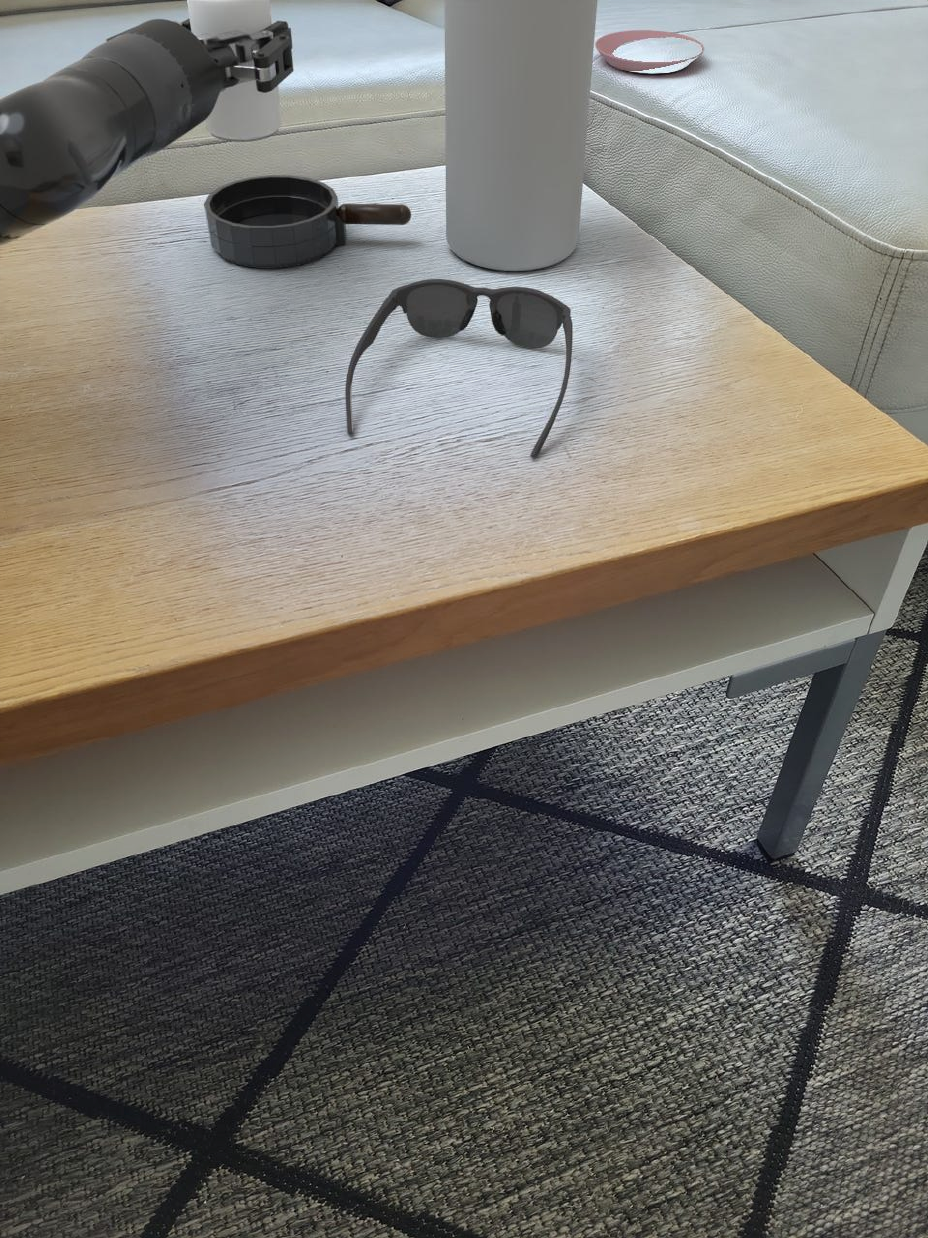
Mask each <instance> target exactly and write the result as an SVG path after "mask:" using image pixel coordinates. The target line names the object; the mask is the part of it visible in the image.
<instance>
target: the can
mask: <svg viewBox="0 0 928 1238" xmlns="http://www.w3.org/2000/svg"><path fill="white" fill-rule="evenodd" d="M186 2H187V4H186V5H187V10H188V19H189V18H190V25H191V32H192V33H193V34H194V35H195V36H196V35H200V34H204V33H209V34H211V35H217V34H221V33H225V32H230V31H234V30H240V31H242V32H245V33H248V34H253V33H257V32H260V31H262V30H263V29H265V28H267V27H268V26H270V25H272V24H273V22H272V14H271V5H270V4H271V3H270V0H186ZM229 45H230V47H231V48H232V50H233V52H234V53H235V55H236V48H235V43H233V44H229ZM253 50H258V51H259V44H257V45H254V46H253V47H252V51H253ZM252 53H253V52H252ZM236 57H237V56H236ZM280 99H281V98H280V90H279V85H278V86H277V87H275V88H274V89H273V90H272V91H270V92H267V93H263V92H259V91H257V86H256V80H252V81H248V82H244V83H240V84H236V85H235V86H232V87H229V88H226V89H225V90H224V91H223V92H220V94H219V96H218V99H217V101H216V104H215V106H214V109H213V110H212V112H211V114H210V115H209V116H208V118H207V119H206V120H204V123H205V127H206V128H205V129H206V130H207V131H208V132H209V134H210V135H211V136H212V137H213V138H215V139H218V140H222V141H225V142H226V141H227V142H234V143H247V142H248V143H249V142H255V141H262V140H265V139H269V138H271V137H273V136H275V135H276V134H277V133H278V132H279V130H280V129H281V126H282V124H283V123H282V110H281V101H280Z"/></svg>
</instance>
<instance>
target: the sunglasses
mask: <svg viewBox="0 0 928 1238" xmlns="http://www.w3.org/2000/svg"><path fill="white" fill-rule="evenodd" d="M481 296H482V297H487V298H488V299H489V311H490V316H491V323H492V327H493V328H494V330H495V331H496V333H497V334H498V335H500V336H504V337H505V338H506V339H507V340H508V341H509V342H510V343H512V344H514V345H515V346H517V347H521V348H523V349H531V350H532V349H534V350H536V349H543V348H544V347H547V346H549V345H551V344H552V342H553V341H554V340H555V338H556V336H557V334H558V331H559V330H560V329H561V327H562V328H563V333H564V339H565V367H564V374H563V379H562V384H561V387H560V391H559V395H558V397H557V400H556V403H555V406H554V408H553V410H552V411H551V414H550V416H549V418H548V419H547V420H548V421H547V422H546V425H545V427H544V428H543V430H542V432H541V434H540V435H539V437H538V439H537V441H536V442H535V444H534V446H533V448H532V450H531V452H530V458H536V457H537V456H538V455H539V454H540V452H541V451H542V449H543V447H544V444H545V442H546V440H547V439H548V437H549V434H550V433H551V430H552V428H553V426H554V423H555V421H556V418H557V416H558V413H559V412H560V409H561V406H562V404H563V400H564V398H565V394H566V391H567V388H568V383H569V378H570V375H571V367H572V356H573V355H572V354H573V341H574V339H573V337H574V336H573V335H574V331H573V320H572V315H571V314H572V313H571V308H570V307H569V306H568V305H566V304H565V303H563V302H562V301H561V300H559V299H557V298H556V297H554V296H552V295H550V294H549V293H546V292H544V291H541V290H539V289H536V288H531V287H526V286H525V287H524V286H507V287H500V288H499V287H498V288H495V289H494V288H489V287H476V286H475V287H474V286H471V285H469V284H466V283H463V282H461V281H456V280H453V279H444V278H429V279H422V280H418V281H414V282H411V283H408V284H405V285H401V286H399V287H396V288H394V289H392V290H391V292H390V293H389V294H388V296H387V297H386V298H385V299H384V300H383V302H382V304H381V305H380V307H379V308H378V310H377V311H376V312H375V314H374V316H373V317H372V319H371V320H370V322H369V324H368V326H367V327H366V328H365V330H364V332H363V333H362V335H361V337H360V339H359V341H358V342H357V344H356V346H355V349H354V351H353V354H352V356H351V358H350V361H349V365H348V368H347V372H346V380H345V413H346V431H347V435H349V436H352V435H353V433H354V432H353V430H354V419H353V418H354V417H353V403H352V400H353V397H352V395H353V394H352V393H353V391H352V390H353V379H354V374H355V370H356V367H357V365H358V364H359V363H358V362H359V360H360V359H361V357H362V355H363V354H364V353H365V352H366V351H367V349H368V348H369V347H370V346H372V345H373V344H374V342H375V341H376V338H377V336H378V334H379V333H380V330H381V328H382V327H383V325H384V323H385V322H386V320H387V319H388V317H389V316H390V315H391V314H392V313H393V312H394V311H395V310H396V309H397V308H398V307H401V309H402V312H403V314H406V319H407V321H408V324H409V325H410V326H411V329H413V331H415V332H416V333H417V334H419V335H420V336H423V337H425V338H431V339H446V338H447V339H448V338H450V337H453V336H456V335H457V334H459V333H460V332H463V331H464V330H465V329H467V327H468V325H469V324H470V322H471V320H472V318H473V316H474V314H475V311H476V308H477V306H478V301H479V297H481Z"/></svg>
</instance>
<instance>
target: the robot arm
mask: <svg viewBox="0 0 928 1238" xmlns="http://www.w3.org/2000/svg"><path fill="white" fill-rule="evenodd" d="M233 43H235V48H236V55H235V53H234V52H233V50H232V48H231V47H230V45H229V44H233ZM257 44H259V51H258V50H253V51H252V47H253V46H254V45H257ZM292 49H293V38H292V28H291V27H289V24H288V22H287V21H285V20H284V21H283V20H277V21H275V22H272V25H270V26H268V27H267V28H265V29H263V30H262V31H260V32H257V33H253V34H248V33H245V32H242V31H240V30H234V31H230V32H225V33H221V34H217V35H211V34H209V33H204V34H200V35H196V36H195V35H194V34H193V33H192V32H191V25H190V18H189V17H188V18H187V19H186V20H183V21H180V22H179V21H176V20H169V19H166V18H165V19H164V18H155V19H149V20H146V21H144V22H142V23H140V24H138V25H136V26H134V27H131V28H129V29H127V30H124V31H122V32H120V33H118V34H114V35H112V36H110V37H108V38H106V39H105V42H102V43H101V44H99V45H97V46H95V47H94V48H93V49H91V50H90V51H89V52H88V53H86V54H85V55H84V56H82V58H81V59H80V60H77V61H75V62H74V63H72V64H71V63H70V64H69V65H68V66H65V67H64V68H62V69H60V70H58V71H56V72H55V73H53V74H51V75H49V76H48V77H47V78H45V79H44V80H43V81H40V82H36V83H34V84H31V85H28V86H25V87H23V88H21V89H19V90H17V91H15V92H12V93H10V94H8V95H6V96H3V97H2V98H0V246H5V245H7V244H10V243H12V242H14V241H16V240H18V239H20V238H22V237H25V236H26V235H28V234H30V233H32V232H34V231H37V230H39V229H41V228H43V227H45V226H46V225H50V224H51V223H54V222H56V221H58V220H60V219H61V218H64V217H65V216H67V215H69V214H71V213H72V212H74V211H76V210H78V209H79V208H80V207H82V206H83V205H85V204H86V203H87V202H89V201H90V200H91V199H93V198H94V197H95V196H96V195H98V193H100V192H101V191H102V190H103V189H104V188H105V187H106V185H107V184H108V183H109V182H110V181H111V180H112V179H113V178H116V177H117V176H119V175H120V174H122V173H123V172H124V171H126V170H127V169H129V168H131V167H132V166H133V165H135V164H137V163H138V162H139V161H140V160H143V159H145V158H148V157H150V156H153V155H155V154H157V153H159V152H161V151H163V150H164V149H165V148H168V146H170V145H172V144H173V143H174V142H176V141H177V140H179V139H180V138H182V137H183V136H184V135H186V134H187V133H189V132H190V131H192V130H193V129H195V128H196V127H198V126H199V125H200V124H201V123H204V122H205V120H206V119H207V118H208V116H209V115H210V114H211V112H212V110H213V109H214V106H215V104H216V101H217V99H218V96H219V94H220V92H223V91H224V90H225V89H226V88H229V87H232V86H235V85H236V84H240V83H244V82H248V81H252V80H256V86H257V91H259V92H263V93H267V92H270V91H272V90H273V89H274V88H275V87H277V86H278V87H279V85H280V84H281V83H282V82H283V81H284V80H286V78H288V77H289V76H290V75H291V74H292V73H293V72H294V62H293V52H292V51H293V50H292ZM252 52H253V53H252ZM236 56H237V57H236Z"/></svg>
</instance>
